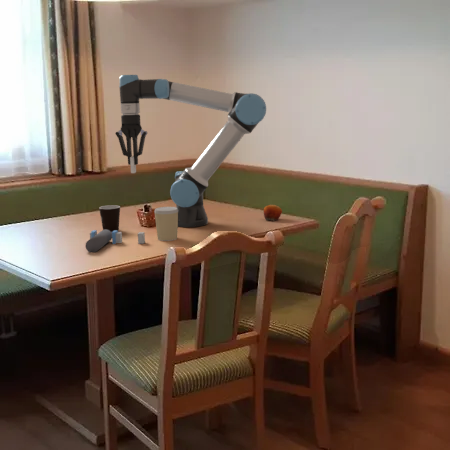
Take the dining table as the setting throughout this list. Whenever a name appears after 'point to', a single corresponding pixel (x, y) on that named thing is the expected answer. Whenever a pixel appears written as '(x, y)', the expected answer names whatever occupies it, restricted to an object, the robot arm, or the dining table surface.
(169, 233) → the coffee cup
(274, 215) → the fruit
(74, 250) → the dining table surface
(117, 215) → the coffee mug
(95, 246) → the dark gray cylinder
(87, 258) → the dining table surface
